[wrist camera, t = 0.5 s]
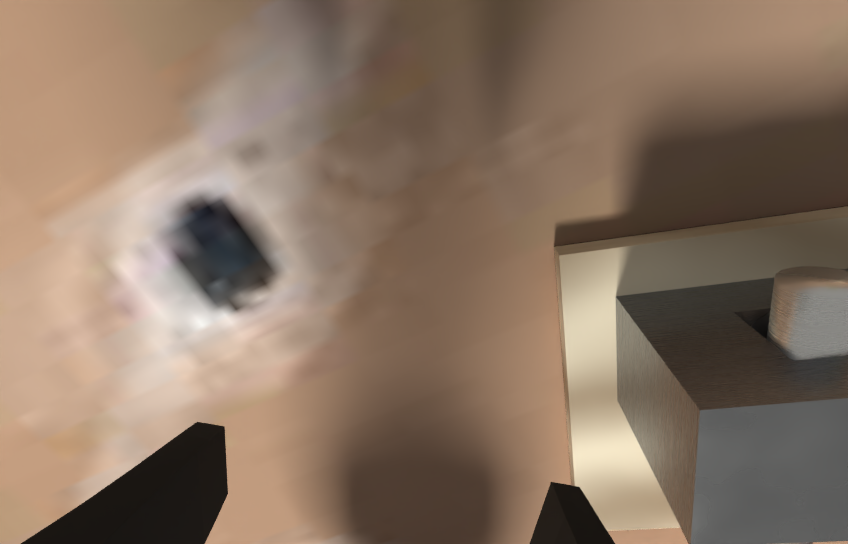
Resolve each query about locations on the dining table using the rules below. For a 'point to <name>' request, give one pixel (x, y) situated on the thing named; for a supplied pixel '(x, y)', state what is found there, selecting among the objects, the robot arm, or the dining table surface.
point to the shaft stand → (703, 384)
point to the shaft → (809, 314)
